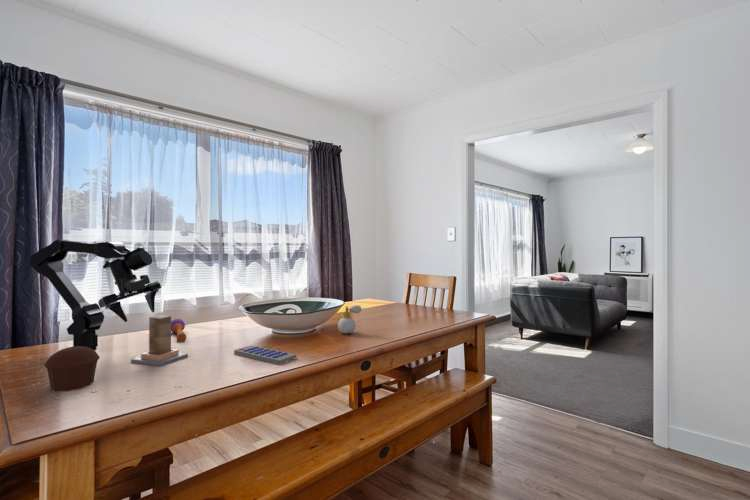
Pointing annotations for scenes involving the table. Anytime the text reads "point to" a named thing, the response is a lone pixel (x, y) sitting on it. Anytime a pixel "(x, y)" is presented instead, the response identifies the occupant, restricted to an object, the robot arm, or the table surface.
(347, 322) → the perfume bottle
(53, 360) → the muffin
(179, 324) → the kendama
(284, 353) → the remote control
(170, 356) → the baseplate
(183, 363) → the table surface
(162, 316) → the walnut post
